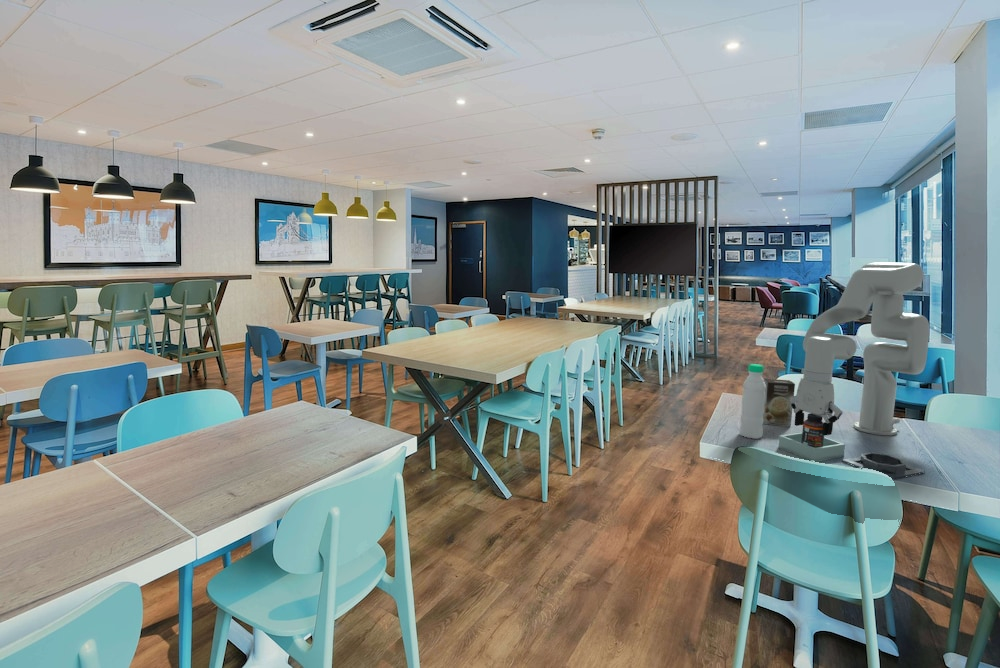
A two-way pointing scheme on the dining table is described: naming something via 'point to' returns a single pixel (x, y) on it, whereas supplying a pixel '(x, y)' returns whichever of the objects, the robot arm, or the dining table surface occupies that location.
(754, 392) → the water bottle
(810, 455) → the bin
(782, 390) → the coffee box
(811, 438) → the supplement bottle
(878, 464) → the square bottle holder
